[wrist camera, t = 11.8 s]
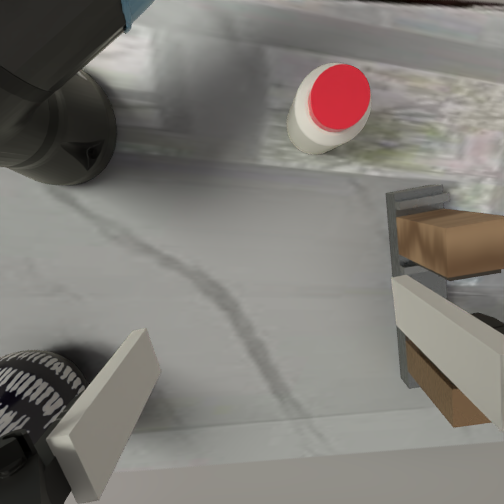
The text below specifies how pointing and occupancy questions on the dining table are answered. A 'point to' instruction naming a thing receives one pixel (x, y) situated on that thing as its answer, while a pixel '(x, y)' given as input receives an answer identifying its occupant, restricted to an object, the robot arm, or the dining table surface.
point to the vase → (36, 390)
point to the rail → (410, 356)
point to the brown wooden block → (453, 242)
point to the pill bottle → (329, 108)
